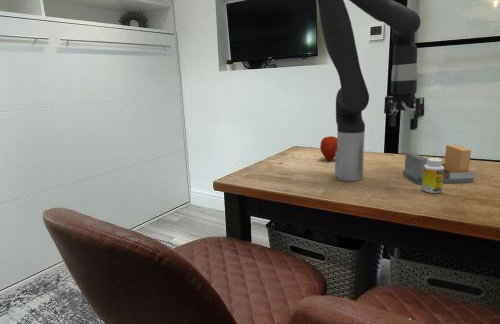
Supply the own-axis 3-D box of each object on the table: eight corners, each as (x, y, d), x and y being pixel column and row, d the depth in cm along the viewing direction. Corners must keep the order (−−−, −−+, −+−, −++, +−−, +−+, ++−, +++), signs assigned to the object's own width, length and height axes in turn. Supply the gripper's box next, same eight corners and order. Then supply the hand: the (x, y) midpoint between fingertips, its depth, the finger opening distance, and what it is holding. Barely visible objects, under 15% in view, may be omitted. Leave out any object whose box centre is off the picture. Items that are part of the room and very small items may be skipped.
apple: (337, 163, 143) (338, 138, 140) (317, 162, 146) (317, 137, 143) (341, 158, 150) (342, 134, 147) (322, 157, 154) (322, 134, 151)
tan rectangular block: (458, 176, 113) (461, 150, 111) (443, 169, 122) (446, 145, 120) (467, 176, 113) (471, 150, 111) (452, 169, 122) (454, 144, 120)
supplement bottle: (435, 195, 103) (438, 162, 100) (418, 190, 107) (420, 159, 105) (445, 191, 106) (448, 159, 103) (427, 186, 110) (430, 156, 108)
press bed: (419, 184, 112) (421, 160, 110) (402, 174, 124) (404, 151, 122) (473, 182, 112) (476, 157, 110) (451, 172, 124) (454, 149, 122)
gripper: (378, 80, 114) (378, 127, 118) (414, 79, 101) (412, 132, 105) (395, 77, 117) (394, 124, 121) (431, 77, 104) (429, 129, 108)
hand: (402, 128), depth 113 cm, fingers open, 8 cm apart
